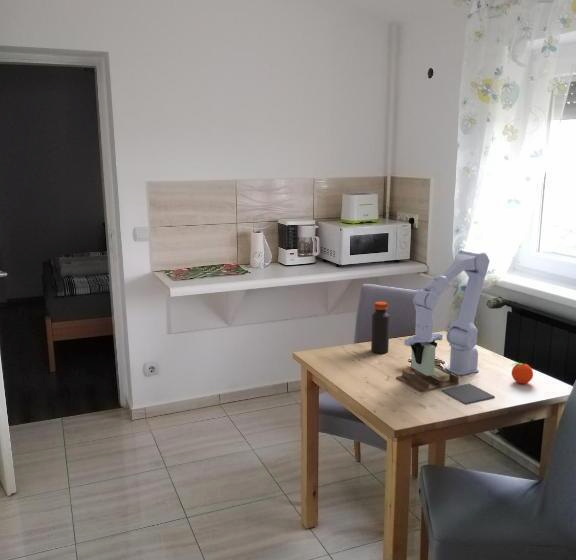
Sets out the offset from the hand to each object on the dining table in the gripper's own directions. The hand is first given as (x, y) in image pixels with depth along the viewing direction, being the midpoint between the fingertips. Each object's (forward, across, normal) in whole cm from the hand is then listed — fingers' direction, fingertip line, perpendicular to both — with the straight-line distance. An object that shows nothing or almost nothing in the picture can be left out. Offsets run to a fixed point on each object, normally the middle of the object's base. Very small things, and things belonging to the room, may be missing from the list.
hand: (422, 362), depth 206 cm
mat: (+7, +7, -15) cm, 18 cm away
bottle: (+8, +4, +34) cm, 35 cm away
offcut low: (+7, +6, 0) cm, 9 cm away
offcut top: (+6, +6, 0) cm, 8 cm away
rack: (+7, +2, 0) cm, 8 cm away
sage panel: (+3, 0, 0) cm, 3 cm away
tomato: (+8, +30, -15) cm, 35 cm away
